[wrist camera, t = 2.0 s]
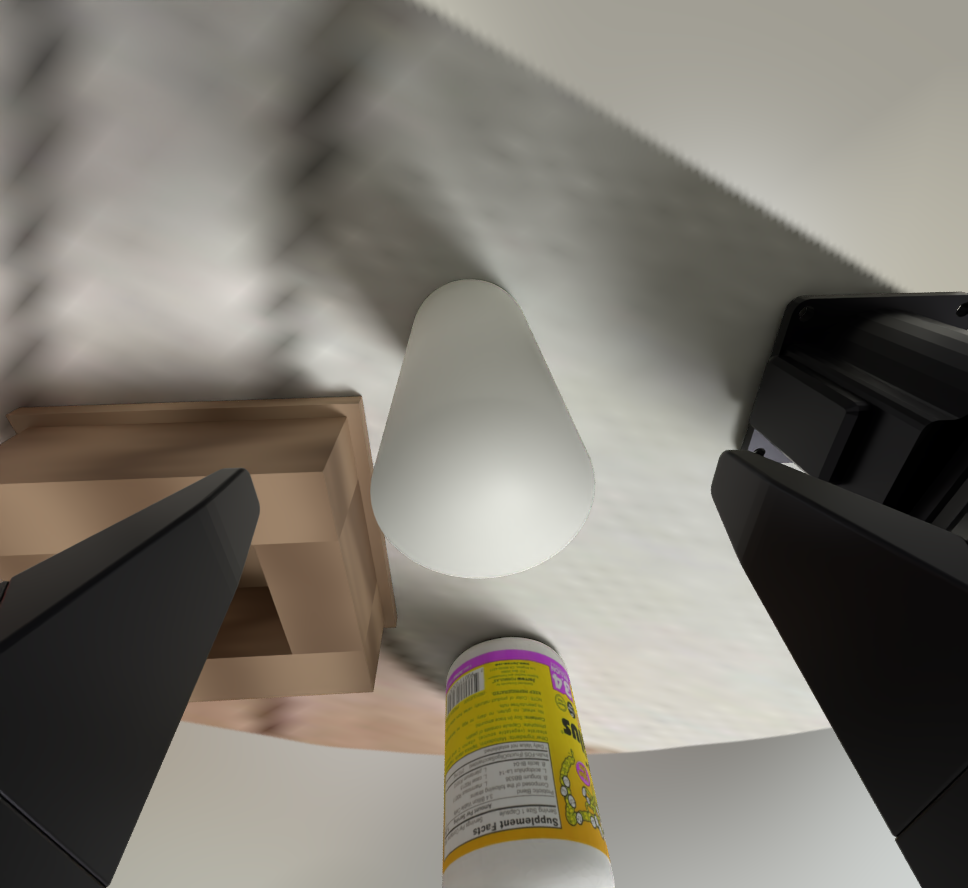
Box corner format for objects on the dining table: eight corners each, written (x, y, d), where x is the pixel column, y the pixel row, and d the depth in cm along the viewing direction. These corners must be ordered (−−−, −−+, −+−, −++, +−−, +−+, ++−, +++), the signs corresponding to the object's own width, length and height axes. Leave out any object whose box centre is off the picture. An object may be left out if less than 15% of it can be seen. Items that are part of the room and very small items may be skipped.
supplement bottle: (563, 699, 28) (636, 1055, 16) (451, 708, 27) (449, 1073, 16) (568, 625, 24) (663, 1012, 13) (440, 635, 24) (426, 1034, 13)
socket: (361, 396, 17) (336, 456, 13) (397, 617, 23) (386, 698, 20) (19, 407, 16) (-100, 472, 13) (148, 629, 23) (92, 715, 19)
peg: (530, 277, 15) (608, 392, 7) (526, 390, 17) (583, 573, 9) (406, 280, 15) (353, 401, 7) (416, 394, 17) (385, 583, 9)
